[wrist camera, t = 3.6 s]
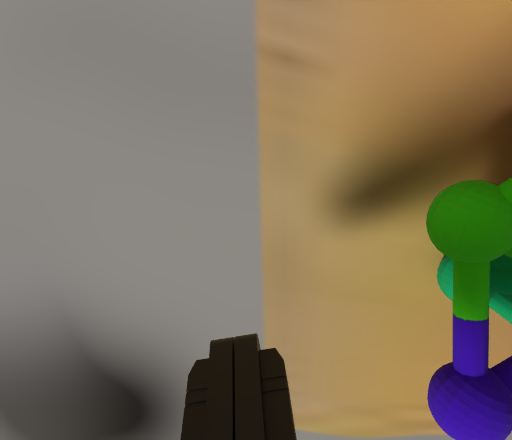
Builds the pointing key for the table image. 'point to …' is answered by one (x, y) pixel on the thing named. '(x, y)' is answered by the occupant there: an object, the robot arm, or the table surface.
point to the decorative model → (473, 307)
